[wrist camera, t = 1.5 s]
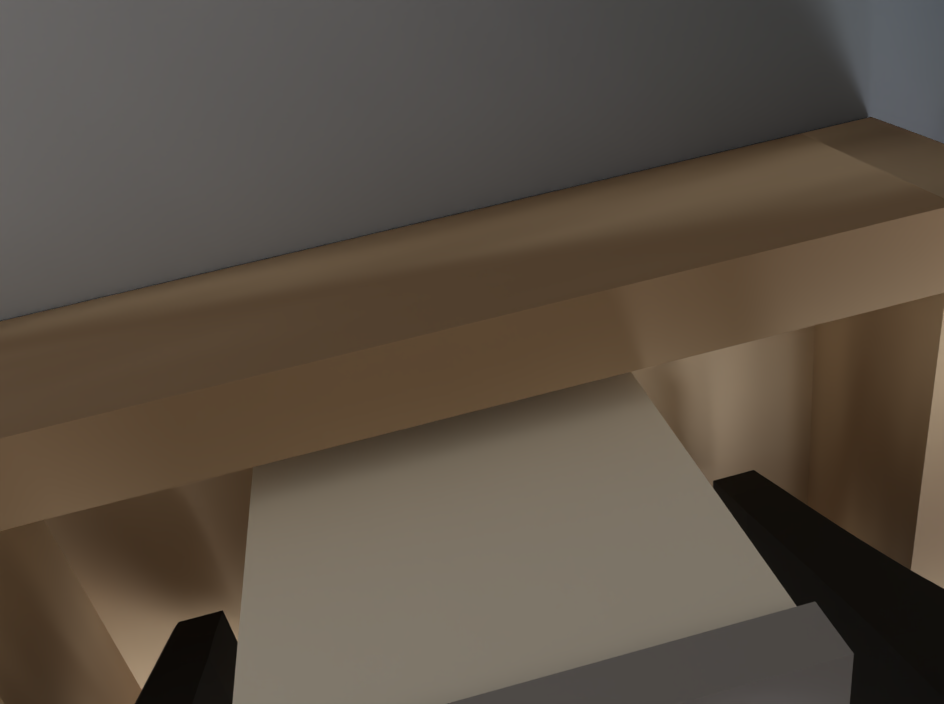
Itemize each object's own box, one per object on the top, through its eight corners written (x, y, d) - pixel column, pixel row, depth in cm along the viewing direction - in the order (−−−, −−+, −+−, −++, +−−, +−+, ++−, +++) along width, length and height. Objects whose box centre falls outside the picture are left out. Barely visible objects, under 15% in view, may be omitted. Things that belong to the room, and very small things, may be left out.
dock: (837, 611, 16) (944, 751, 13) (159, 800, 15) (129, 991, 12) (871, 117, 11) (1047, 182, 8) (-123, 349, 10) (-271, 504, 7)
